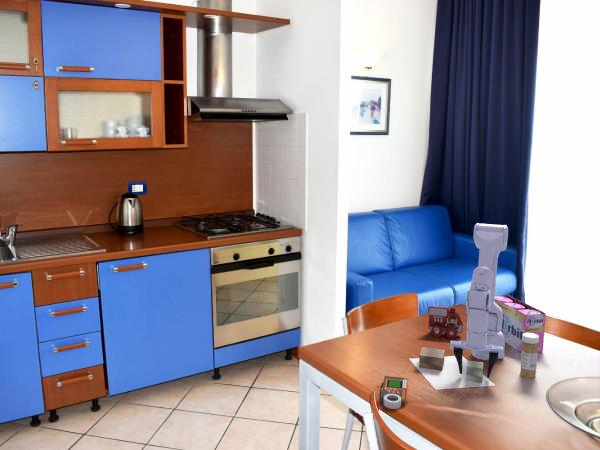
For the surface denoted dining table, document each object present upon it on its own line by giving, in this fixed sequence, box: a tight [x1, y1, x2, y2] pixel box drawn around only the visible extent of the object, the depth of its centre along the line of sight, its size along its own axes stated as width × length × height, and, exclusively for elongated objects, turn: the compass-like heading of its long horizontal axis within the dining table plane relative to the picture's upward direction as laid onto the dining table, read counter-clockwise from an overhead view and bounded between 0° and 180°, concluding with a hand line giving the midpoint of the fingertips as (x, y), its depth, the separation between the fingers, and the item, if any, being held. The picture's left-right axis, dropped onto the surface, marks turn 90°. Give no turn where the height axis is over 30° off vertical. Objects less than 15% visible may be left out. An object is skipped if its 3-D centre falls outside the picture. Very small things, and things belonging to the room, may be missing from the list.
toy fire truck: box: [427, 305, 464, 339], centre depth 201 cm, size 7×12×10 cm, turn 75°
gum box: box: [489, 294, 547, 353], centre depth 196 cm, size 24×8×14 cm, turn 12°
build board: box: [408, 355, 496, 391], centre depth 169 cm, size 18×22×1 cm
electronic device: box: [380, 375, 409, 410], centre depth 155 cm, size 7×3×15 cm
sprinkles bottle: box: [519, 333, 539, 379], centre depth 166 cm, size 5×5×13 cm
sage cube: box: [466, 359, 484, 383], centre depth 164 cm, size 4×4×4 cm
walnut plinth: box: [418, 346, 446, 371], centre depth 174 cm, size 7×7×4 cm
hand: (474, 374), depth 164 cm, fingers open, 7 cm apart
